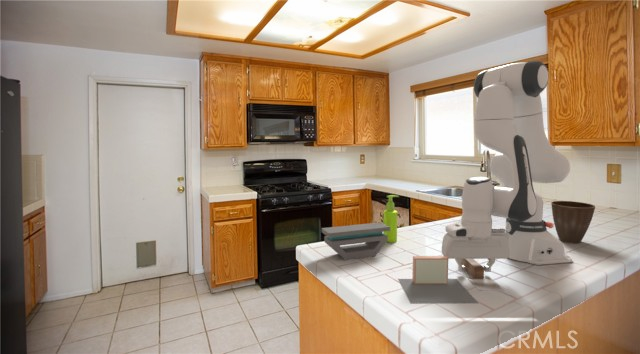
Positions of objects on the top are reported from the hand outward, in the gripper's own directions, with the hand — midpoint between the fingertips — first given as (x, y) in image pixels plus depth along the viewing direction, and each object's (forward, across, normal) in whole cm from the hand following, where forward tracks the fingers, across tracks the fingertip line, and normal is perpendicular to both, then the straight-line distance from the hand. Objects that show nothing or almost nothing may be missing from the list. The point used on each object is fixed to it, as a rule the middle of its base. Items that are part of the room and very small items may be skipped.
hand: (474, 271), depth 108 cm
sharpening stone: (+2, +36, -21) cm, 42 cm away
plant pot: (+2, -57, -38) cm, 69 cm away
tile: (+1, +16, +6) cm, 17 cm away
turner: (+2, 0, +1) cm, 2 cm away
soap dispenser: (+2, +19, -40) cm, 44 cm away
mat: (+2, +16, +11) cm, 19 cm away
